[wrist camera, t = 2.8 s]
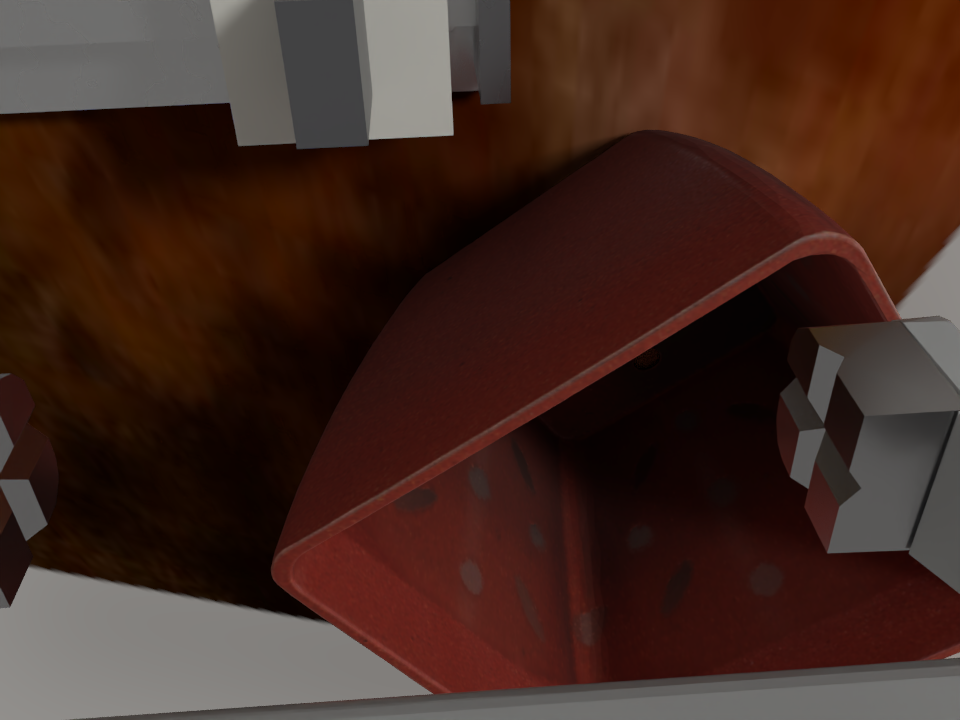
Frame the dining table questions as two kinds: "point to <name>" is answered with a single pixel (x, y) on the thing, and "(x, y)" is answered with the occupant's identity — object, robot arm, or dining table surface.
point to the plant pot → (604, 447)
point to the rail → (182, 53)
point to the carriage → (335, 70)
